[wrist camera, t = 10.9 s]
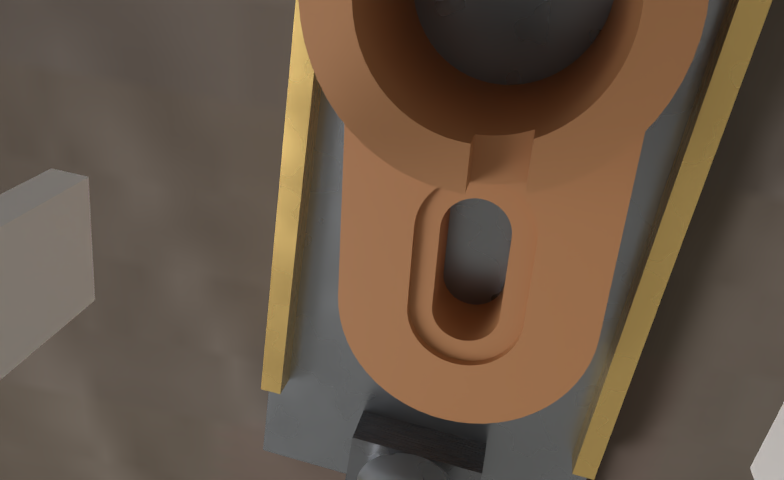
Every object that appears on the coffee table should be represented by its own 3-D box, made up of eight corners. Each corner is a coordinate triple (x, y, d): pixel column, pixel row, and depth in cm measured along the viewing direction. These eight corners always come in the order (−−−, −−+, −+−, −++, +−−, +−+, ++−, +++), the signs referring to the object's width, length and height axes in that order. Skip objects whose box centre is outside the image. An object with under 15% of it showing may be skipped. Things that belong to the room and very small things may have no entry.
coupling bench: (358, -414, 18) (268, -568, 13) (879, -357, 17) (1042, -506, 11) (271, 434, 31) (207, 547, 25) (565, 517, 29) (566, 658, 23)
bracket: (382, -186, 19) (300, -243, 13) (694, -172, 18) (765, -228, 12) (354, 355, 27) (293, 481, 21) (574, 395, 25) (578, 543, 19)
